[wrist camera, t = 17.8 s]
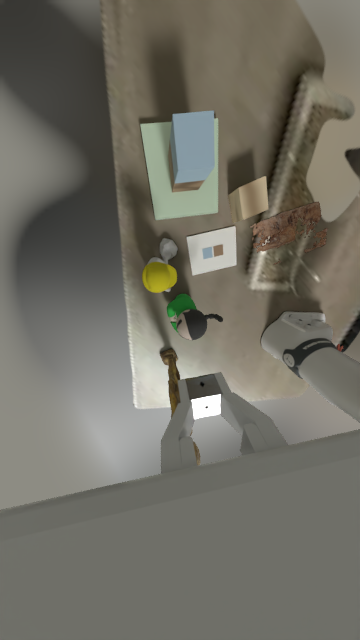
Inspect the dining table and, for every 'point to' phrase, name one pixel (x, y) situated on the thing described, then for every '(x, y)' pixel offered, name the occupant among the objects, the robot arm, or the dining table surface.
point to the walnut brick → (181, 186)
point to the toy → (188, 317)
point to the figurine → (161, 269)
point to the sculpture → (175, 387)
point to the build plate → (160, 181)
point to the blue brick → (192, 146)
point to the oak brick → (248, 200)
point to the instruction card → (212, 250)
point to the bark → (289, 227)
